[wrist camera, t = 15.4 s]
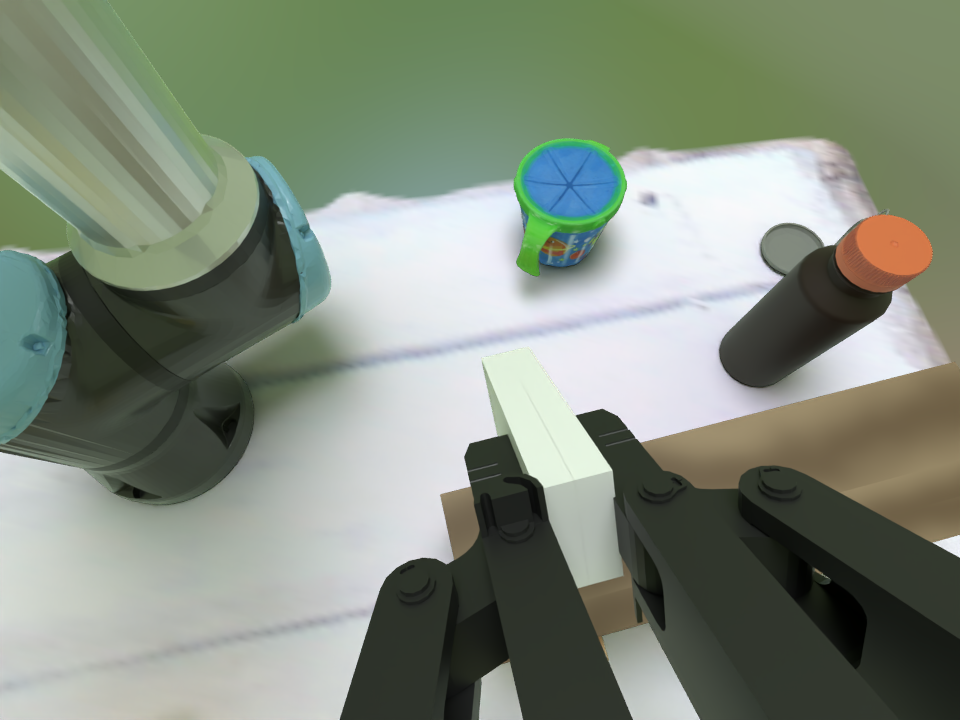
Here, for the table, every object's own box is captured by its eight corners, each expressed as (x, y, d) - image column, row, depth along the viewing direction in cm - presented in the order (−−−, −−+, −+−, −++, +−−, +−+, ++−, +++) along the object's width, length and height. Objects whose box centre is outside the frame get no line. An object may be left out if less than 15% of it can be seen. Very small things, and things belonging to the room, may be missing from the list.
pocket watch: (756, 225, 58) (806, 161, 49) (833, 232, 57) (898, 169, 48) (761, 288, 55) (816, 232, 46) (842, 296, 55) (914, 241, 45)
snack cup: (560, 175, 61) (572, 105, 52) (635, 219, 59) (662, 154, 49) (479, 263, 57) (476, 204, 48) (556, 315, 55) (569, 263, 45)
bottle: (704, 354, 52) (819, 241, 34) (745, 314, 54) (877, 185, 35) (758, 401, 50) (912, 309, 32) (799, 359, 52) (969, 246, 33)
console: (870, 525, 46) (1049, 509, 31) (483, 633, 44) (477, 670, 29) (816, 421, 50) (954, 361, 35) (457, 515, 47) (440, 494, 32)
